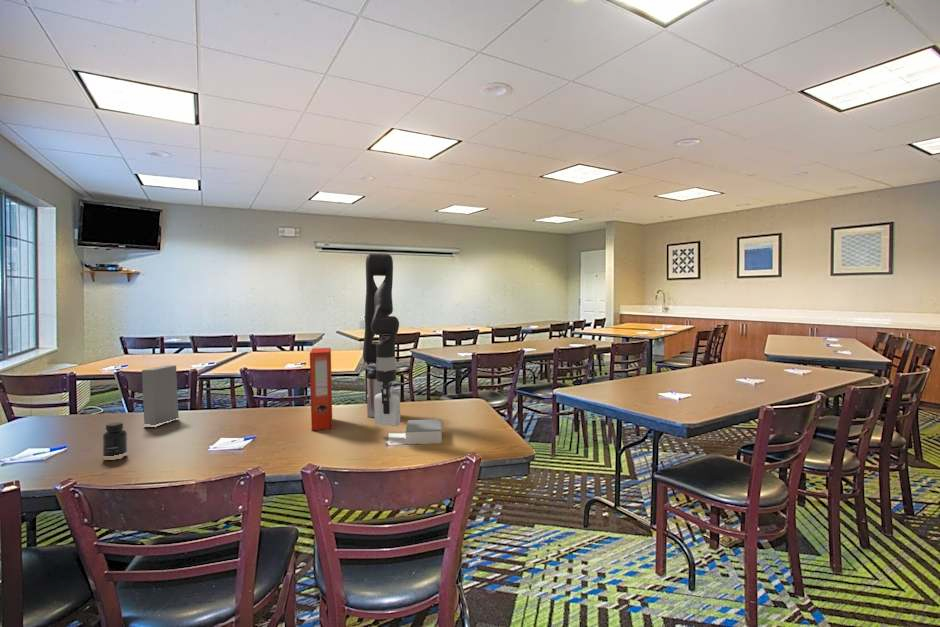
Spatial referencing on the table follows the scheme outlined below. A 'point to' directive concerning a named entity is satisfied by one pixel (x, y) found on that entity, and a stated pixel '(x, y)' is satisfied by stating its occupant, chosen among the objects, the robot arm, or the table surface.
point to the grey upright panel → (160, 394)
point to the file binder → (321, 388)
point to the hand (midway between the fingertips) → (387, 411)
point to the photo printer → (394, 410)
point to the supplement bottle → (114, 440)
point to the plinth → (424, 431)
